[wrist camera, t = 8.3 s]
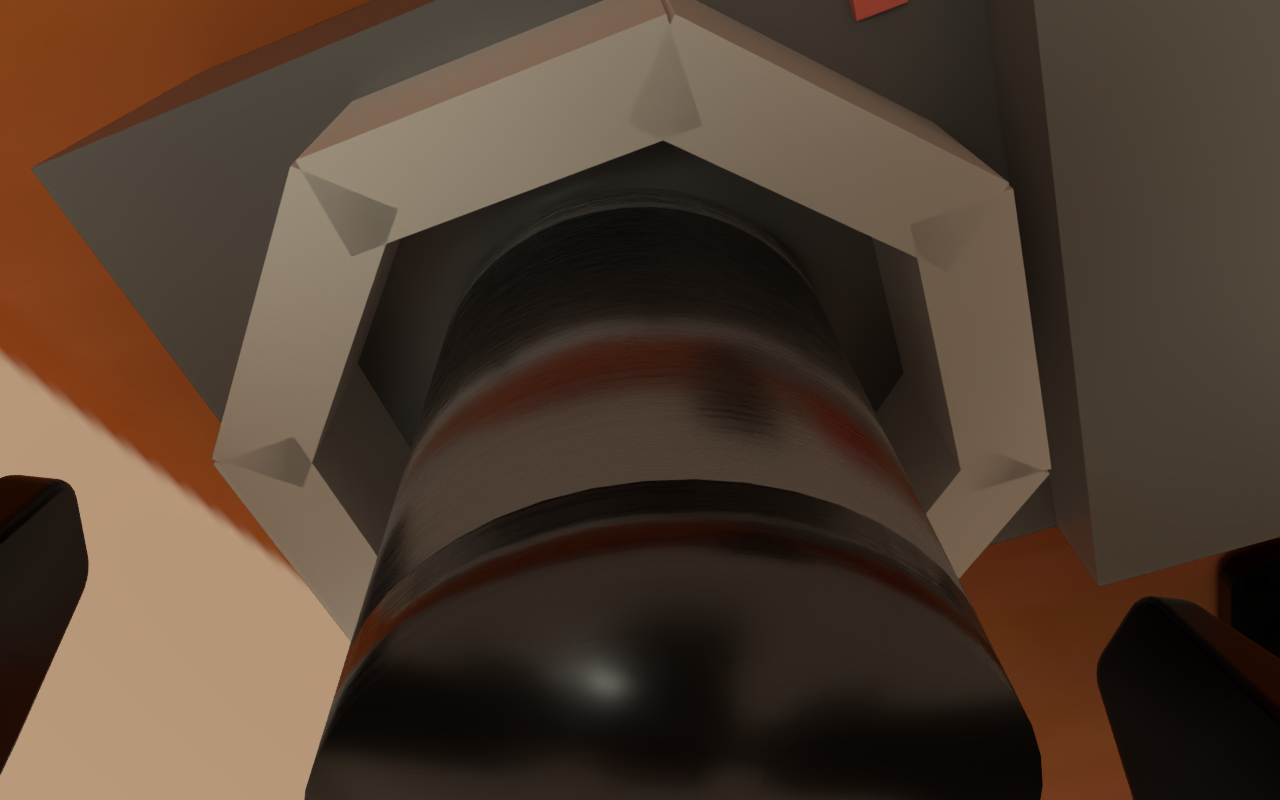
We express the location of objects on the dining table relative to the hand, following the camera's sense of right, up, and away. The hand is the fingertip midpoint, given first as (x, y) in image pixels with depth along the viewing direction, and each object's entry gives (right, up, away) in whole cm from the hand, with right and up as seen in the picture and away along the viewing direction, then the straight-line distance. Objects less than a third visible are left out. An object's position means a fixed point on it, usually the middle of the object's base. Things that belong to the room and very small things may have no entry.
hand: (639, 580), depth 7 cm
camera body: (+1, +5, +7) cm, 8 cm away
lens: (0, +2, +3) cm, 4 cm away
